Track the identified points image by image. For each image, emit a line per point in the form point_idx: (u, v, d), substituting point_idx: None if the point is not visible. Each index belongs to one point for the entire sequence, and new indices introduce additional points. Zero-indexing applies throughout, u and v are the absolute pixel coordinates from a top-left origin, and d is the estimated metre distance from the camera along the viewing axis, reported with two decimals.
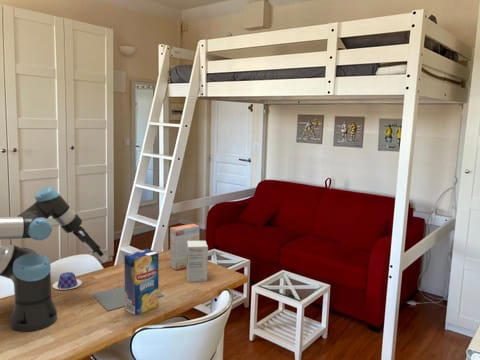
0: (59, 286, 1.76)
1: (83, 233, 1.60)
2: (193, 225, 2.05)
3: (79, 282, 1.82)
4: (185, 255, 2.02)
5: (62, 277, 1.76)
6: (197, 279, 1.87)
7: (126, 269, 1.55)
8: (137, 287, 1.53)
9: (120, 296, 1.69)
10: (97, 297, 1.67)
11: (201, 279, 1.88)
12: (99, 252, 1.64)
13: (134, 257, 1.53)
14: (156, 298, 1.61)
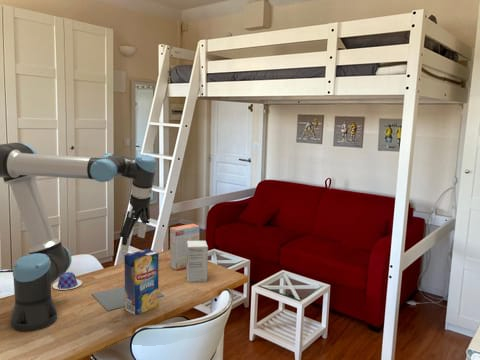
0: (59, 286, 1.76)
1: (130, 215, 1.50)
2: (193, 225, 2.05)
3: (79, 282, 1.82)
4: (185, 255, 2.02)
5: (62, 277, 1.76)
6: (197, 279, 1.87)
7: (126, 269, 1.55)
8: (137, 287, 1.53)
9: (120, 296, 1.69)
10: (97, 297, 1.67)
11: (201, 279, 1.88)
12: (123, 240, 1.52)
13: (134, 257, 1.53)
14: (156, 298, 1.61)
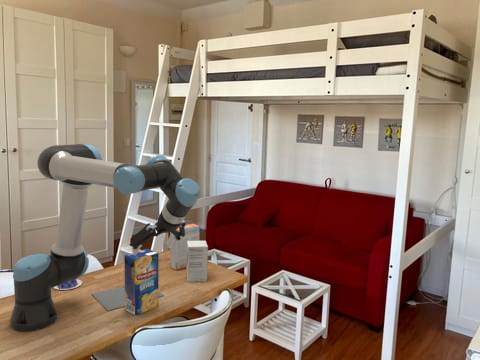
0: (59, 286, 1.76)
1: (147, 229, 1.31)
2: (193, 225, 2.05)
3: (79, 282, 1.82)
4: (185, 255, 2.02)
5: None
6: (197, 279, 1.87)
7: (126, 269, 1.55)
8: (137, 287, 1.53)
9: (120, 296, 1.69)
10: (97, 297, 1.67)
11: (201, 279, 1.88)
12: None
13: (134, 257, 1.53)
14: (156, 298, 1.61)
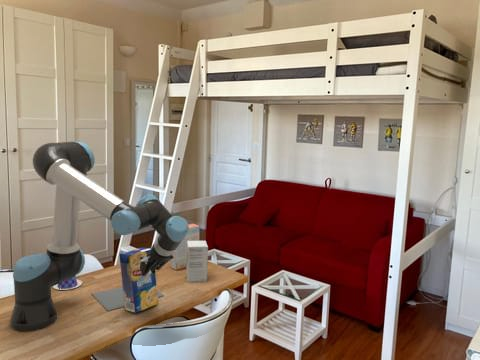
0: (59, 286, 1.76)
1: None
2: (193, 225, 2.05)
3: (79, 282, 1.82)
4: (185, 255, 2.02)
5: None
6: (197, 279, 1.87)
7: (122, 267, 1.57)
8: (134, 283, 1.54)
9: (120, 296, 1.69)
10: (97, 297, 1.67)
11: (201, 279, 1.88)
12: None
13: (129, 253, 1.55)
14: (155, 295, 1.61)
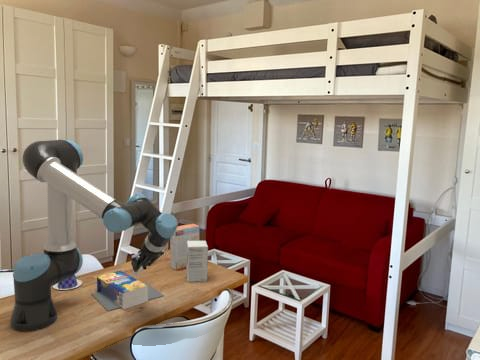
0: (60, 286, 1.76)
1: None
2: (193, 225, 2.05)
3: (79, 282, 1.82)
4: (185, 255, 2.02)
5: None
6: (197, 279, 1.87)
7: (103, 293, 1.70)
8: (111, 283, 1.65)
9: None
10: (97, 297, 1.67)
11: (201, 279, 1.88)
12: None
13: None
14: (140, 283, 1.67)
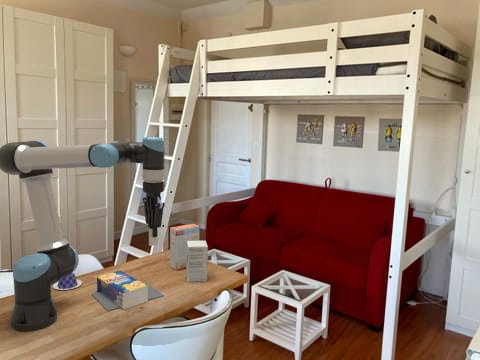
0: (60, 287, 1.76)
1: (161, 206, 1.42)
2: (193, 225, 2.05)
3: (79, 281, 1.82)
4: (185, 255, 2.02)
5: None
6: (197, 279, 1.87)
7: (103, 293, 1.70)
8: (111, 283, 1.65)
9: None
10: (97, 297, 1.67)
11: (201, 279, 1.88)
12: (155, 231, 1.46)
13: None
14: (140, 283, 1.67)
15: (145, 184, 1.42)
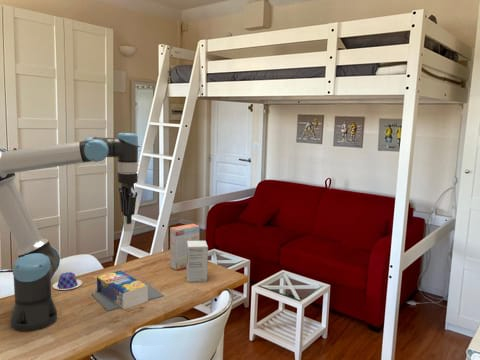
0: (61, 287, 1.76)
1: (134, 195, 1.57)
2: (193, 225, 2.05)
3: (78, 281, 1.83)
4: (185, 255, 2.02)
5: (64, 277, 1.76)
6: (197, 279, 1.87)
7: (103, 293, 1.70)
8: (111, 283, 1.65)
9: None
10: (97, 297, 1.67)
11: (201, 279, 1.88)
12: (129, 219, 1.61)
13: None
14: (140, 283, 1.67)
15: (120, 175, 1.57)
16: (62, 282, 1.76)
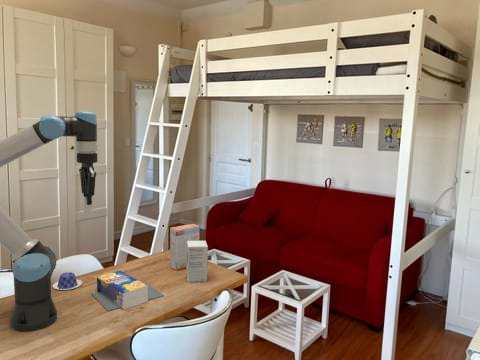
0: (61, 287, 1.75)
1: (93, 175, 1.53)
2: (193, 225, 2.05)
3: (78, 281, 1.83)
4: (185, 255, 2.02)
5: (64, 277, 1.76)
6: (197, 279, 1.87)
7: (103, 293, 1.70)
8: (111, 283, 1.65)
9: None
10: (97, 297, 1.67)
11: (201, 279, 1.88)
12: (89, 199, 1.58)
13: None
14: (140, 283, 1.67)
15: (78, 155, 1.54)
16: (62, 282, 1.76)
